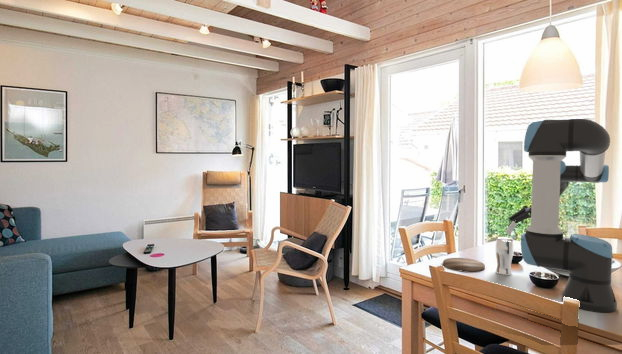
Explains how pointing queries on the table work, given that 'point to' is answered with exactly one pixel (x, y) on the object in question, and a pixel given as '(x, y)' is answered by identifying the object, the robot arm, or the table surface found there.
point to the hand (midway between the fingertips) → (520, 236)
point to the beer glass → (504, 255)
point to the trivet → (464, 264)
